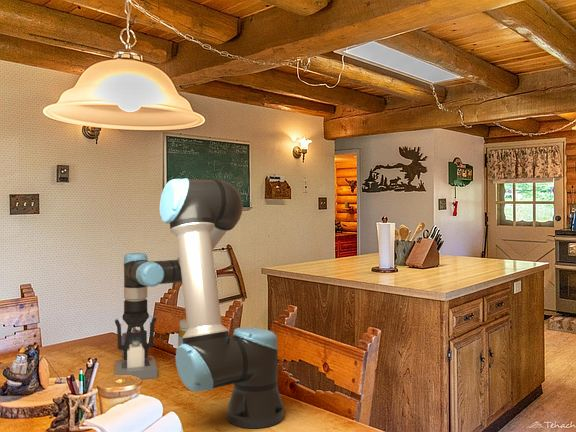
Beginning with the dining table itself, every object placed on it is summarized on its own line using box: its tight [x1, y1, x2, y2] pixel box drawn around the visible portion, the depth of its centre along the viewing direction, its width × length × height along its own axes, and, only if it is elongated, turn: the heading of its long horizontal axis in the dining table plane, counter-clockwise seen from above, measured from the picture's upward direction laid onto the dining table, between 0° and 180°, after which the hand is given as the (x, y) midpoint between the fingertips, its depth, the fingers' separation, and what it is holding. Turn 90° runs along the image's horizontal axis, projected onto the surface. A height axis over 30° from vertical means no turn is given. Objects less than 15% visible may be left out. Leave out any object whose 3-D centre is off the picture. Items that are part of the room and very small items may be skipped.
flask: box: [121, 327, 148, 358], centre depth 188 cm, size 9×3×11 cm, turn 122°
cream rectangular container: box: [129, 340, 142, 368], centre depth 167 cm, size 5×4×10 cm
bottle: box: [177, 318, 188, 348], centre depth 179 cm, size 7×7×15 cm
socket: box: [114, 354, 158, 380], centre depth 167 cm, size 14×13×4 cm
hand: (135, 368), depth 167 cm, fingers closed on cream rectangular container, 4 cm apart
